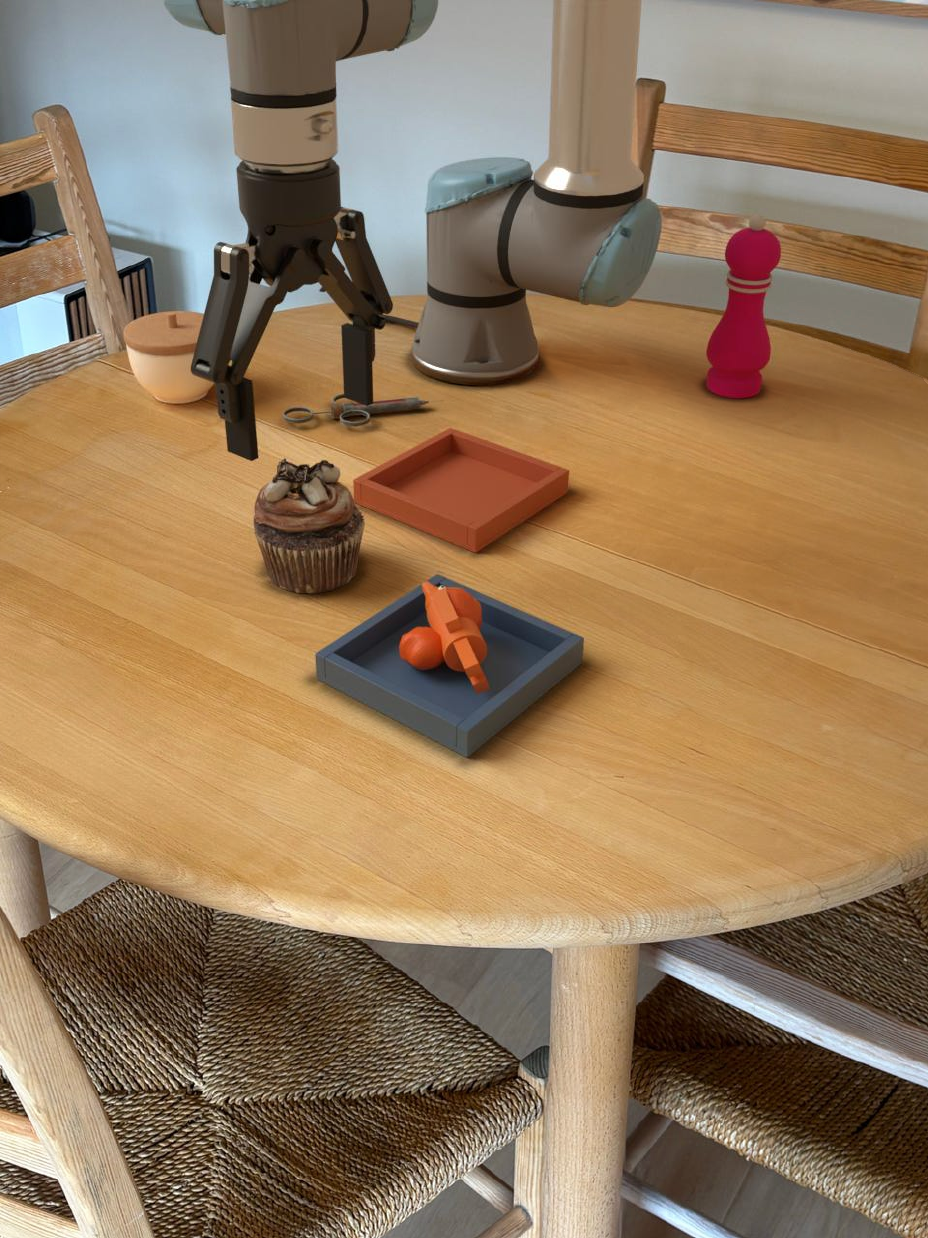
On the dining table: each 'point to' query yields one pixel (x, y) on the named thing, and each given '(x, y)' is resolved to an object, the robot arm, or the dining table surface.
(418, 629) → the orange toy bird
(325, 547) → the cupcake
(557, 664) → the blue tray
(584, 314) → the dining table surface
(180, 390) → the trinket box
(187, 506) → the dining table surface
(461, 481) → the terracotta tray
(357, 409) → the syringe
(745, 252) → the pepper mill
